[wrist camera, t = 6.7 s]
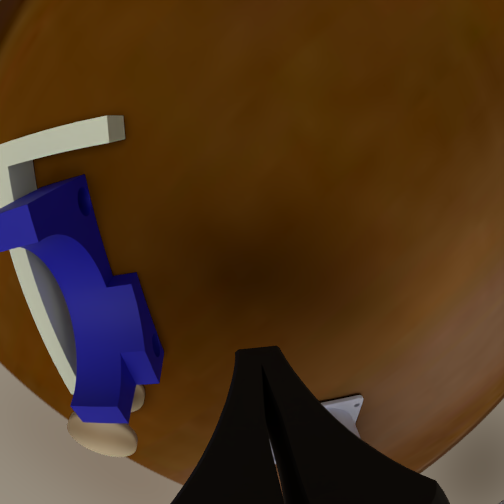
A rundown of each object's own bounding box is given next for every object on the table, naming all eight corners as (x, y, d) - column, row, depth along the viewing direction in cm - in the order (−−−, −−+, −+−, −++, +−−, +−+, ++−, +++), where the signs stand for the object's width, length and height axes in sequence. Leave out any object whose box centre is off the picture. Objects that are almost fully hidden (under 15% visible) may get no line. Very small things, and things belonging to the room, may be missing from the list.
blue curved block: (164, 350, 19) (153, 422, 14) (105, 355, 19) (82, 422, 14) (110, 167, 14) (58, 194, 9) (42, 186, 14) (-22, 221, 9)
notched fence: (169, 370, 20) (166, 397, 18) (80, 370, 19) (71, 393, 17) (123, 115, 13) (106, 115, 11) (14, 142, 13) (-11, 148, 11)
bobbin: (151, 406, 21) (145, 459, 17) (97, 404, 21) (84, 453, 16) (135, 364, 19) (122, 420, 15) (76, 363, 19) (55, 414, 14)
